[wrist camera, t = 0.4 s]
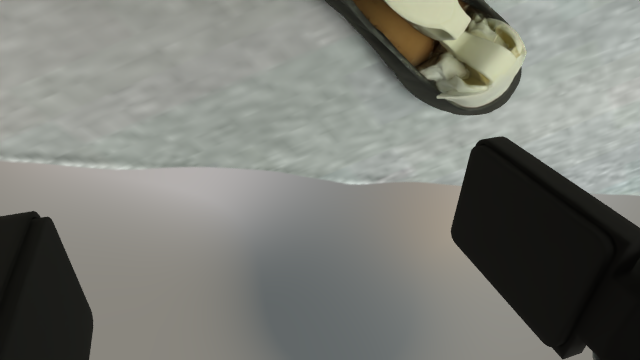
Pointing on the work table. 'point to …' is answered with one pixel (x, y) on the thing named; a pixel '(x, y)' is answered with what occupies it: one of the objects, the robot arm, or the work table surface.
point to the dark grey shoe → (443, 49)
